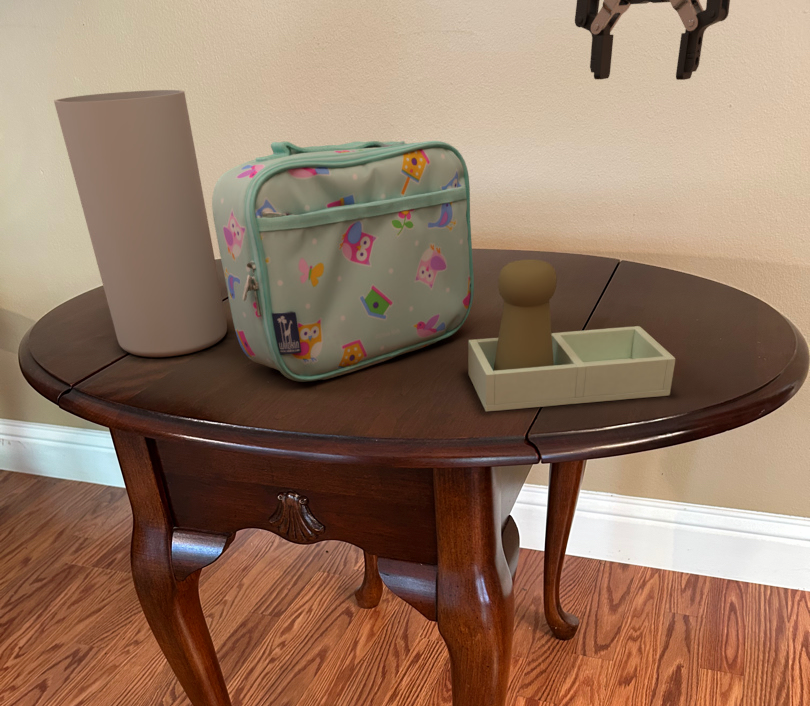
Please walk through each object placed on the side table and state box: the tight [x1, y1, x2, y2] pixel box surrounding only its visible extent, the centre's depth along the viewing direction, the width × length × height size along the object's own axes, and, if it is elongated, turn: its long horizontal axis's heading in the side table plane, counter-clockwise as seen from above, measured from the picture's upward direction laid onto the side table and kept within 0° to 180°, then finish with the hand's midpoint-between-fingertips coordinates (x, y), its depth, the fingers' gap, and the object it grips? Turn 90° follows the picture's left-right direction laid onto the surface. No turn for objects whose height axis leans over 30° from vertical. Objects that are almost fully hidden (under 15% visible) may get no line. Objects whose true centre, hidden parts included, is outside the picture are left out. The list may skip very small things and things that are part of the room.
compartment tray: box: [467, 325, 676, 412], centre depth 73 cm, size 17×9×4 cm, turn 96°
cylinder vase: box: [53, 89, 228, 358], centre depth 83 cm, size 12×12×25 cm
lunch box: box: [211, 140, 475, 382], centre depth 77 cm, size 27×10×21 cm, turn 126°
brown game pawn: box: [493, 258, 558, 371], centre depth 70 cm, size 6×6×11 cm
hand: (641, 79), depth 75 cm, fingers open, 8 cm apart
